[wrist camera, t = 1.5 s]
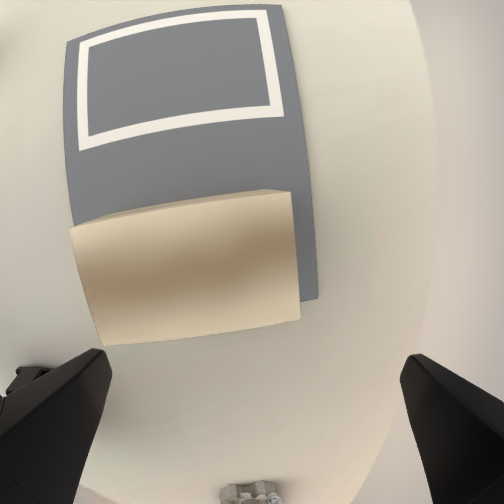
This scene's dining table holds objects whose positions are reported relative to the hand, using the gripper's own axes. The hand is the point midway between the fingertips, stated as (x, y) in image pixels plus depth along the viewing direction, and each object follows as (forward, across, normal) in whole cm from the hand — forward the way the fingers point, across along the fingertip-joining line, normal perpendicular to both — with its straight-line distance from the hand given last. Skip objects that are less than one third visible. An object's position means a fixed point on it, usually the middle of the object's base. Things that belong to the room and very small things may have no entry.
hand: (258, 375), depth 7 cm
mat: (+12, +5, -6) cm, 14 cm away
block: (+11, +4, 0) cm, 12 cm away
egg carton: (+9, 0, +34) cm, 35 cm away
